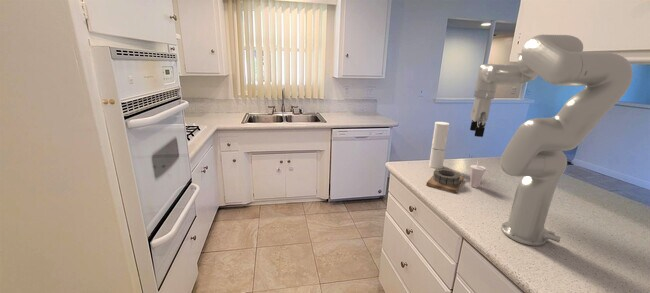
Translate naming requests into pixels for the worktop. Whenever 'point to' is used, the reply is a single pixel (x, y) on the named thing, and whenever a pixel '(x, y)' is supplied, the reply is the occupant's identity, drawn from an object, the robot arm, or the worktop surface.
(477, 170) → the smoothie
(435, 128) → the cylindrical container
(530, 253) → the worktop surface
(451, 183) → the block
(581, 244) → the worktop surface
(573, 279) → the worktop surface
